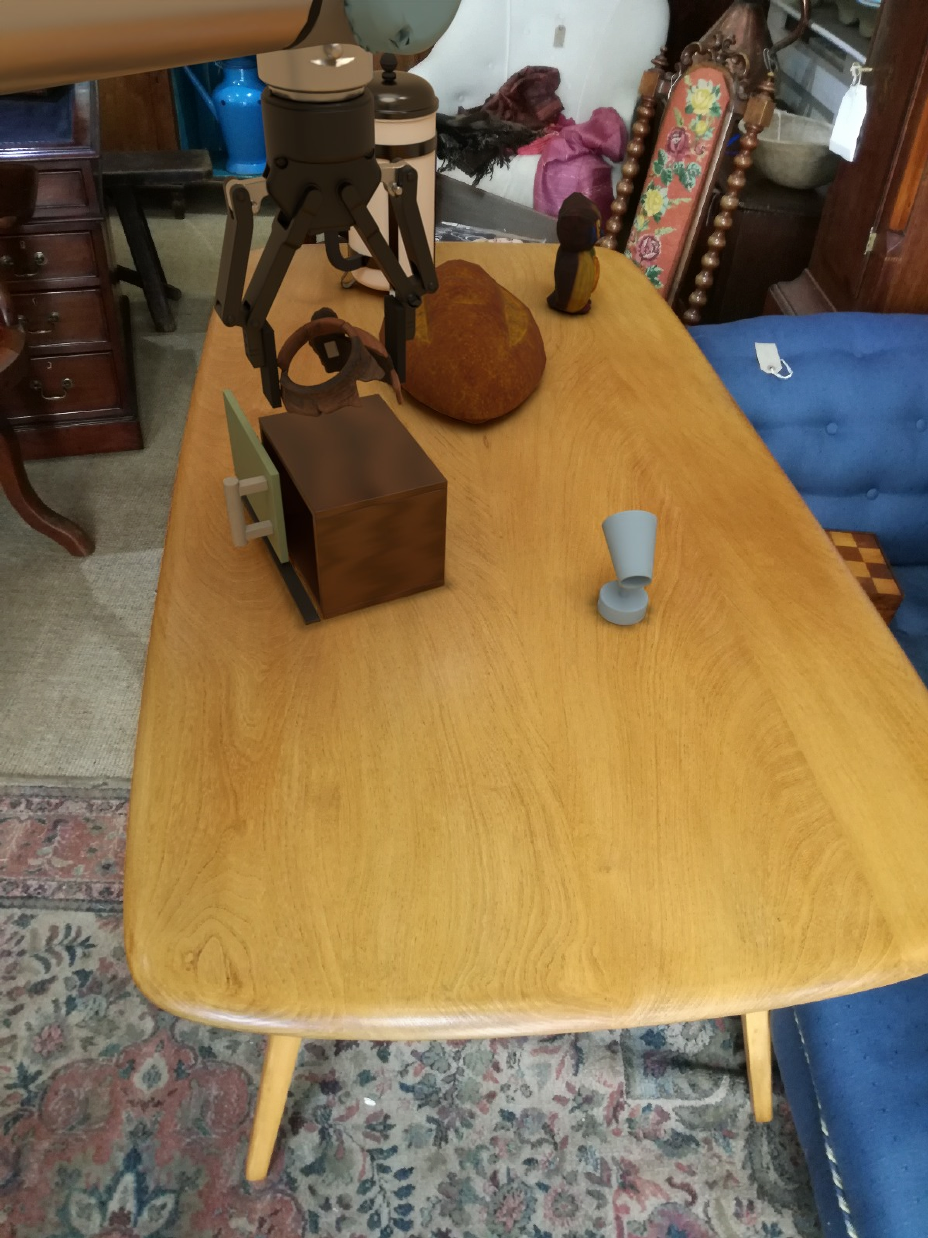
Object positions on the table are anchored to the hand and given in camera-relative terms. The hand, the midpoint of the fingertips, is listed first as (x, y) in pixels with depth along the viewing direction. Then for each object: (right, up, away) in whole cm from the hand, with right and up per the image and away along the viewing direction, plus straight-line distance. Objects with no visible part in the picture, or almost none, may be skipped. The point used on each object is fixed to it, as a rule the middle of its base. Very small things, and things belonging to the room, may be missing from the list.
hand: (335, 387), depth 77 cm
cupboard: (-2, -11, +16) cm, 19 cm away
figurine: (+26, +25, +57) cm, 67 cm away
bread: (+10, +13, +43) cm, 46 cm away
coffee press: (0, +29, +59) cm, 66 cm away
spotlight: (+25, -18, +10) cm, 33 cm away
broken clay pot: (0, -1, +1) cm, 1 cm away
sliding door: (-12, -9, +16) cm, 22 cm away
